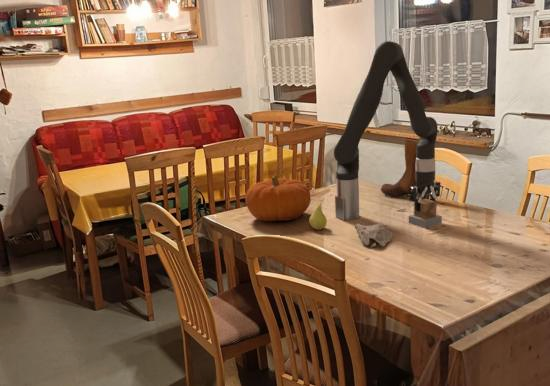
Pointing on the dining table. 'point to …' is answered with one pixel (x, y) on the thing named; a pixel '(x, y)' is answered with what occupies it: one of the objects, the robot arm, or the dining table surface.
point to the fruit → (318, 218)
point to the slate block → (425, 221)
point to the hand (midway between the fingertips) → (425, 209)
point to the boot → (405, 175)
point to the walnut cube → (426, 209)
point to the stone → (374, 234)
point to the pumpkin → (278, 199)
